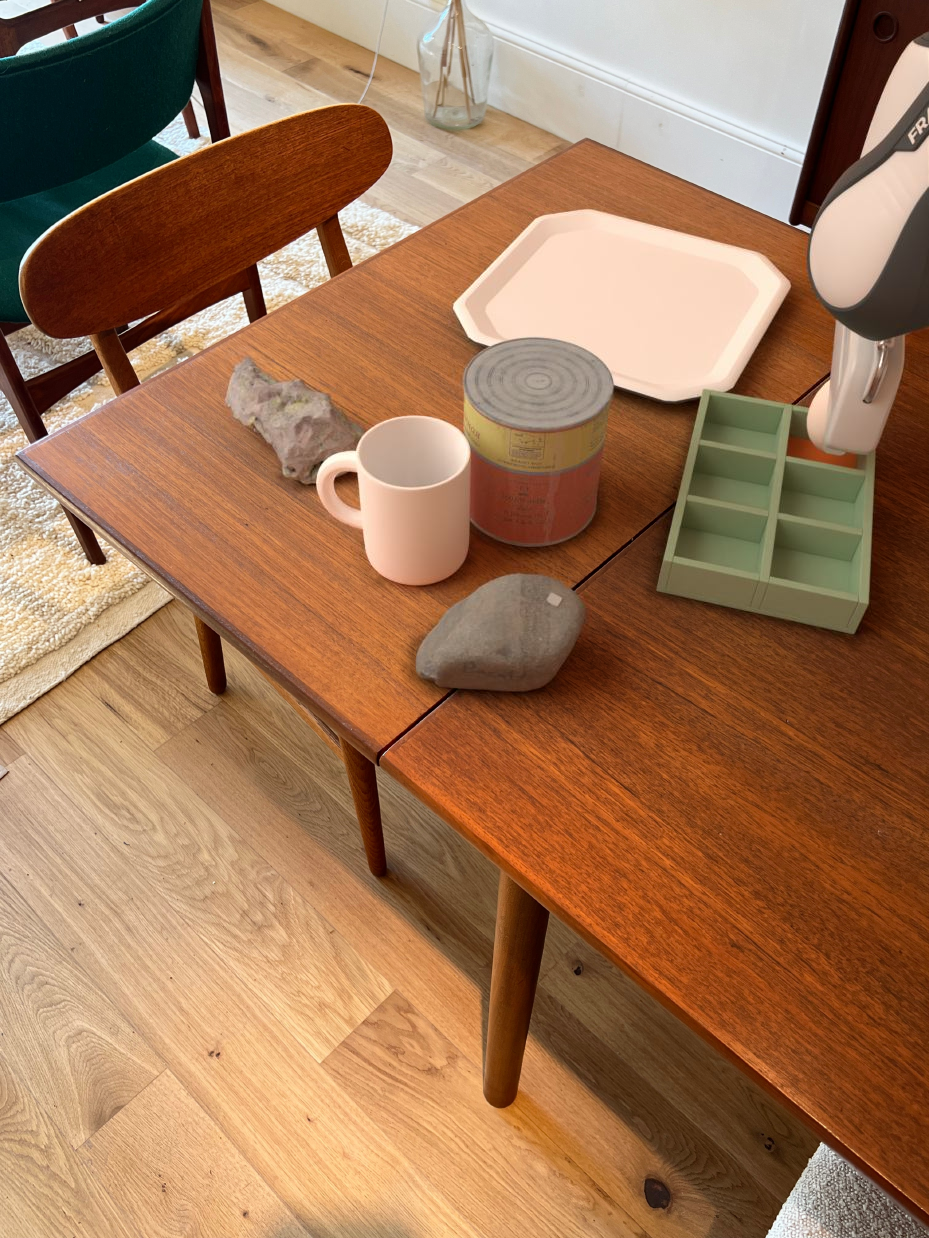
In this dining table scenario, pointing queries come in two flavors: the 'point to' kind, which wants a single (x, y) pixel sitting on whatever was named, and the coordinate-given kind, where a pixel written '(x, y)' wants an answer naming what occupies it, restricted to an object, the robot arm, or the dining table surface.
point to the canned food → (535, 438)
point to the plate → (630, 301)
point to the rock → (291, 420)
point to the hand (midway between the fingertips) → (835, 426)
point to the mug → (407, 497)
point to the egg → (818, 416)
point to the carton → (770, 517)
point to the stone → (504, 635)
